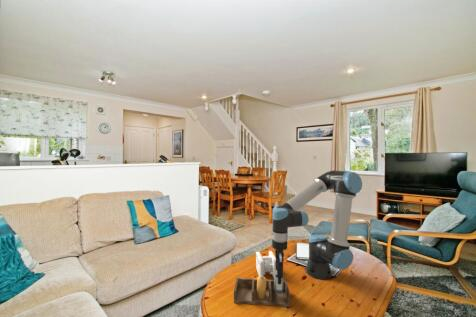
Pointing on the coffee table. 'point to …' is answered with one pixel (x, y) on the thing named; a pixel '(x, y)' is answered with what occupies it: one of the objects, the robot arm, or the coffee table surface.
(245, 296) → the brown compartment tray
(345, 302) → the coffee table surface
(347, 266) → the robot arm
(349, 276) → the coffee table surface
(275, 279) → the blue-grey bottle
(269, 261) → the cable organizer
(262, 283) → the yellow knobbed cylinder
